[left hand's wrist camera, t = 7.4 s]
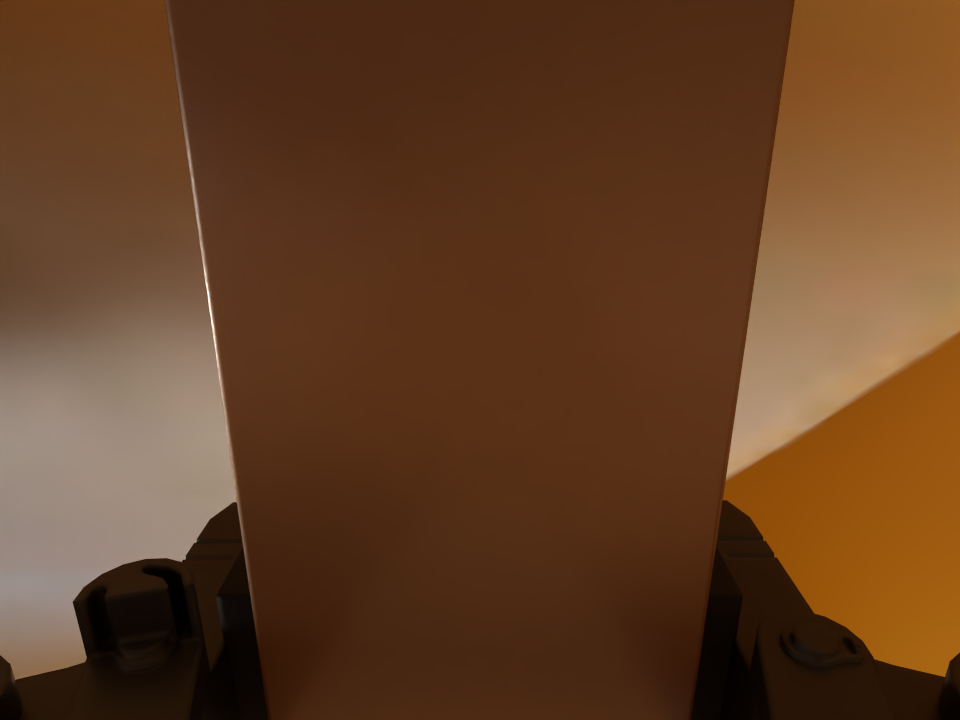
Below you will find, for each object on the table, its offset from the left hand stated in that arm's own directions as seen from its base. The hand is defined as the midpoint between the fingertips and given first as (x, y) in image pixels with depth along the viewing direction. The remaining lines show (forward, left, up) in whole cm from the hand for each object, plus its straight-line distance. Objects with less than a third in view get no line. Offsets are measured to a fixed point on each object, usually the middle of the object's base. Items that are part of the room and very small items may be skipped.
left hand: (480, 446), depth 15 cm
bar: (+11, +6, -1) cm, 13 cm away
